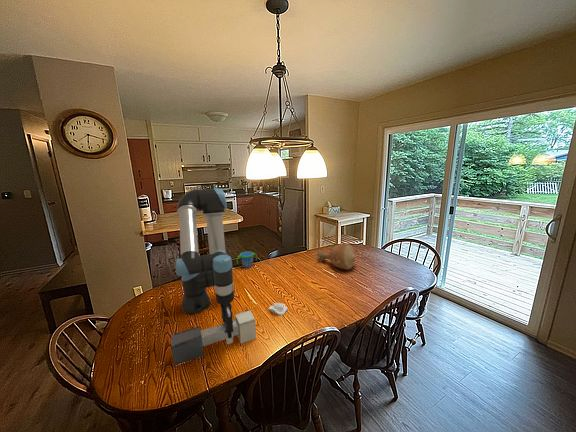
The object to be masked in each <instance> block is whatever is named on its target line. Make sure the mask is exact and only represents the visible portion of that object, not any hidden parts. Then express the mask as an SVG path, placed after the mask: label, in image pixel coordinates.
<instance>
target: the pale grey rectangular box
mask: <svg viewBox="0 0 576 432" xmlns="http://www.w3.org/2000/svg"><path fill="white" fill-rule="evenodd" d="M223 323H224V322H223ZM223 323H222V324H218V325H215V326H211V327H208V328H206V329H205V328H204V329H203V330H201V329H200V331H201V336H202V344H203V347H206V346H209V345H212V344H215V343H217V342H221V341H224V340H226V333H225V332H224V331H225V330H226V325H225V323H224V324H223ZM232 333H233V337H235V336H238V335H239V334H240V328H239V323H238V321H237V320H236V319H233V332H232Z"/></svg>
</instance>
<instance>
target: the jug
mask: <svg viewBox="0 0 576 432" xmlns="http://www.w3.org/2000/svg"><path fill="white" fill-rule="evenodd" d="M329 251H330V252H328V253H327V252H324V251H323V250H322V249H319V250H318V251H317V257H316V259H317V261H318V262H319V263H322V262H323V261H325V260H330V263H331V264H332V265H333V266H334V267H336V268H339V269H340V270H341V269H342V270H347V271H348V270H351V269H352V268H353V267H354V265H355V261H356V253H355V249H354V248H353V246H352V245H351V244H350V243H341V244H337V245H335V246H333V248H330V249H329Z"/></svg>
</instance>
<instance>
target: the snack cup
mask: <svg viewBox="0 0 576 432" xmlns="http://www.w3.org/2000/svg"><path fill="white" fill-rule="evenodd" d="M254 256H255V261H257V260H258V256H257V254H256V253H255V252H253V251H247V250H246V251H243V252H240V253H239V255H238V256H237V258H236V263H237V264H239V258H240V261H241V265H242V267H243V268H245V269H247V268H252V267H253V263H254Z"/></svg>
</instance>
